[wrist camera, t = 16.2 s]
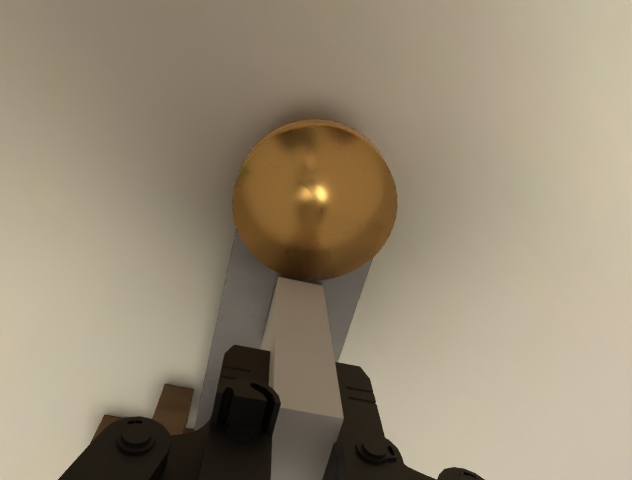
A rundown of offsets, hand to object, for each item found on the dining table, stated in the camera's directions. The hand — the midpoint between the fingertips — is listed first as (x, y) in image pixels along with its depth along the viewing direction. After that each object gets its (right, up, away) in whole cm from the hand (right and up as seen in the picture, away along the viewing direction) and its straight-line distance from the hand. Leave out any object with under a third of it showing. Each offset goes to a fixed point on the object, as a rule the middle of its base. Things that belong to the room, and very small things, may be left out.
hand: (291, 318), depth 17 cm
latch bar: (0, 0, +1) cm, 1 cm away
